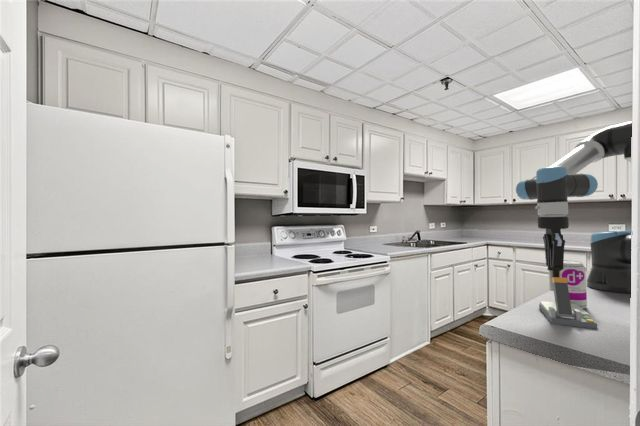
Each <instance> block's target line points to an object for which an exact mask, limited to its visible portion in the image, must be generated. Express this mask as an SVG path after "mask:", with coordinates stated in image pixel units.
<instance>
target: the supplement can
mask: <svg viewBox="0 0 640 426" xmlns="http://www.w3.org/2000/svg"><path fill="white" fill-rule="evenodd" d="M586 273H587V272H586V266H585V265H584V264H583V262H582V261H577V260H565V259H564V262H563V270H561V278H567V281H568V283H567V284H568V291H569V297H570V303H571V304H577V305H578V306H579V307H581V308H582V309H583V310H585V309H586V308H587V307H588V304H587V303H588V298H587V275H586Z"/></svg>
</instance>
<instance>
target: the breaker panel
mask: <svg viewBox="0 0 640 426" xmlns="http://www.w3.org/2000/svg"><path fill="white" fill-rule="evenodd" d="M538 307H539V308H538V309H539V310H540V311H541V312H542V314H543V315H544V316H545V318H547V320H548V321H549V322H550V324H552V325H557V326H558V325H560V326H567V327H568V326H569V327H577V328H586V329H587V328H588V329H596V330H598V323H597V321H595V320H594V319H593V318H592V317H590V313H589V312H587V311H586V310H585V309H582V308H581V307H579V306H578V305H577V304H571V310H572V313H574V314H575V318H574V317H564V316H555V311H556V312H557V310H556V303H555V301H554V302H553V301H542V300H540V301H539V304H538Z"/></svg>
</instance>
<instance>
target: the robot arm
mask: <svg viewBox="0 0 640 426" xmlns="http://www.w3.org/2000/svg"><path fill="white" fill-rule="evenodd" d="M632 121H633V120H629V121H625V122H621V123H618V124H613V125H610V126H607V127H605V128H602V129H600V130H598V131H597V132H594V133H593V134H591V135H590V136H588V137H585V138H584V139H583V140H581V141H580V142H579V143H577V144H576V145H575V147H574V149H572V151H570V152H569V153H567V154H566V155H564V156H563V157H562V158H560V159H558V160H557V161H556V162H554V163H553V164H552V165H550V166H547V167H541V168H539V169H537V171H536V175H535V176H533V178H531V179H525V180H521V181H519V182H518V183H517V184H516V187H515V193H516V195H517V197H518V198H519V199H521V200H524V201H525V200H530V201H533V200H536V203H537V204H536V206H534V208H535V210H537V215H538V218H537V227H538V228H539V229H543V230H545V233H544V234H543V237H542V239H543V244H544V245H543V246H544V255H545V265H546V266H547V271H548V286H549V287H548V289H549V291H550V292H554V288H553V283H552V278H553V277H560V278H561V270H563V262H564V260H565V259H564V258H565V257H564V255H565V245H566V240H565V239H564V235H563V234H562V232H561V230H566V229H568V228H569V227H570V226H569V217H568V216H567V215H569V202H568V198H575V197H576V198H584V197H589V196H592V194H594V193H595V192H596V191H597V189H598V187H599V183H598V180H597V178H596V177H595V176H593V175H592V174H590V173H589V174H588V173H581V171H582V170H584V169H585V168H586V167H588V166H589V165H591V164H593V163H597V162H600V161H601V160H602V159H606V158H609V157H615V156H622V155H623V158H624V160H626V161H628V162H630V163H631V137H632ZM631 232H632V231H631V230H616V231H603V232H593V233H592V234H591V235H590V243H589V244H590V253H591V254H590V255H591V268H590V272H589V274H588V275H587V277H586V287H589V288H591V289H595V290H600V291H607V292H613V293H623V294H624V293H625V294H628V293H629V294H632V293H631ZM626 292H627V293H626Z"/></svg>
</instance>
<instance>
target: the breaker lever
mask: <svg viewBox="0 0 640 426" xmlns="http://www.w3.org/2000/svg"><path fill="white" fill-rule="evenodd" d="M552 283H553V288H554V291H553V295H554V302H555V303H556V310H557V312H556V311H555V316H564V317H574V318H575V314H574V313H572V310H571V303H570V297H569V291H568V284H567V283H568V281H567V278H560V277H553V278H552Z"/></svg>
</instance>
